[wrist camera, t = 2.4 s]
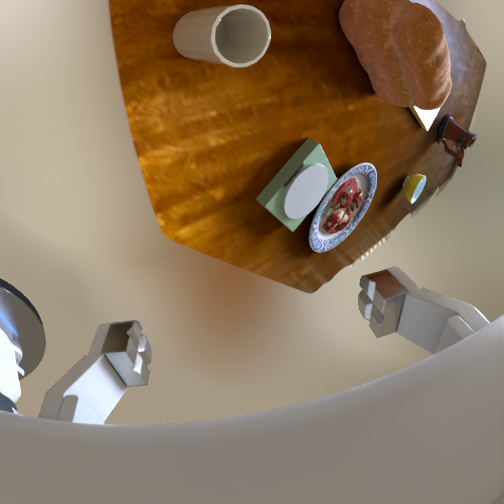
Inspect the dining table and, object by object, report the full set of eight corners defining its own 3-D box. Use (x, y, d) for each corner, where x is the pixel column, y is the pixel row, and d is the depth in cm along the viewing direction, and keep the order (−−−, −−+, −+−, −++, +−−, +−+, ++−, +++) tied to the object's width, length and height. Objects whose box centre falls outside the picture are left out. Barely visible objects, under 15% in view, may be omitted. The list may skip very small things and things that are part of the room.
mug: (433, 153, 96) (462, 171, 88) (430, 144, 87) (461, 164, 79) (449, 120, 88) (478, 138, 80) (447, 109, 80) (478, 128, 72)
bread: (362, -24, 25) (447, -8, 17) (401, 64, 46) (460, 90, 38) (325, 17, 29) (420, 39, 21) (375, 104, 50) (437, 135, 42)
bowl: (416, 168, 90) (429, 177, 87) (403, 194, 97) (416, 202, 94) (407, 166, 83) (422, 175, 80) (394, 194, 90) (408, 203, 86)
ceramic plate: (379, 177, 72) (387, 182, 71) (331, 250, 81) (338, 256, 80) (349, 142, 52) (360, 148, 51) (285, 243, 61) (294, 251, 60)
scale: (284, 225, 57) (295, 234, 55) (255, 199, 46) (267, 208, 44) (328, 173, 55) (339, 180, 53) (308, 137, 44) (322, 144, 43)
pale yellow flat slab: (406, 103, 57) (423, 130, 74) (413, 106, 56) (428, 133, 73) (421, 68, 52) (436, 101, 69) (428, 71, 50) (441, 104, 67)
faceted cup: (196, 70, 26) (237, 80, 22) (160, 35, 21) (196, 33, 16) (233, 35, 25) (280, 40, 21) (203, -1, 20) (248, -8, 16)
